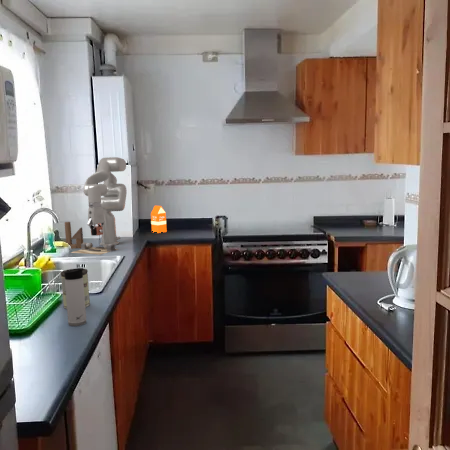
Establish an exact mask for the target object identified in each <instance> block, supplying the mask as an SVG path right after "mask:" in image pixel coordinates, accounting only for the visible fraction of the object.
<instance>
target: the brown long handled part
mask: <svg viewBox="0 0 450 450" xmlns="http://www.w3.org/2000/svg"><path fill="white" fill-rule="evenodd" d="M64 234H65V244H66V243H68V244H69V245H70V246H71V249H70V250H73V249H81V244H82V243H84V235H83V234H84V231H83V227H82V226H81V227H80V228H79V229H78V230H77V231H76V232H75V233H74V235H73V236H72V227H71V221H65V222H64ZM73 240H75V243H73Z"/></svg>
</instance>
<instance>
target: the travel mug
mask: <svg viewBox="0 0 450 450" xmlns="http://www.w3.org/2000/svg"><path fill="white" fill-rule="evenodd" d="M70 269H71V270H69V269H66V270H67V271H66V272H64V275H65V290H66V302H67V309H66V311H67V324H68V326H69V327H80V326H84V325H86V324H87V311H86V307H85V296H84V283H83V275H82V274H83V272H82V271H83V269H84V268H83V267H78V268H70Z"/></svg>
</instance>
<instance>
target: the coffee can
mask: <svg viewBox="0 0 450 450" xmlns="http://www.w3.org/2000/svg"><path fill="white" fill-rule="evenodd" d="M71 269H72V268H70V269H69V268H68V269H65V270H62V271H61V272H60V273H59V274H60V277H61V278H60V280H61V289H62V301H63V308H64V309H66V310H67V302H66V290H65V275H64V272H66V271H67V270H71ZM82 272H83V274H82V275H83V283H84V296H85V308H87V307H89V306H90V305H91V302H90V301H91V300H90V289H89V277H88V276H89V275H88V272H89V271H88V269H86V268H83V271H82Z"/></svg>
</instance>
